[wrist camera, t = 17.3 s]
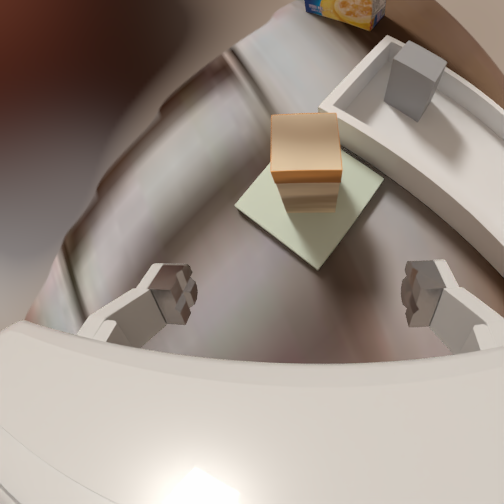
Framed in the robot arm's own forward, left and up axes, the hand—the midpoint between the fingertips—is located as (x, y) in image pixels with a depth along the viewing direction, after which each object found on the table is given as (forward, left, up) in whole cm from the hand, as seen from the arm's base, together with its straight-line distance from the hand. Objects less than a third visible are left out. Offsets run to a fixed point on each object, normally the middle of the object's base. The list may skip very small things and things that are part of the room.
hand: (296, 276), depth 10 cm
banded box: (+8, +6, -15) cm, 18 cm away
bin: (+22, -5, -16) cm, 28 cm away
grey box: (+24, +3, -15) cm, 29 cm away
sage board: (+8, +6, -16) cm, 19 cm away
